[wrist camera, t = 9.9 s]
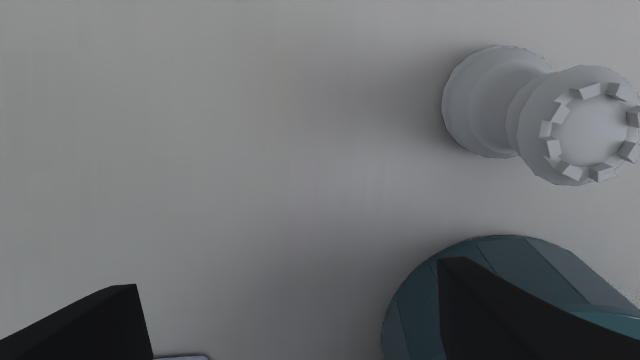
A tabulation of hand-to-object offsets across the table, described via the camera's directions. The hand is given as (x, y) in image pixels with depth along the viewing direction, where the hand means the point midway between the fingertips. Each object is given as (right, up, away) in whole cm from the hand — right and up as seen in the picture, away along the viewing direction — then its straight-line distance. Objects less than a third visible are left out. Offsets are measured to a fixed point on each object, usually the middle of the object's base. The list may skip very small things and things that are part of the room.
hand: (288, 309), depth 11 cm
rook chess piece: (+8, +6, +8) cm, 13 cm away
